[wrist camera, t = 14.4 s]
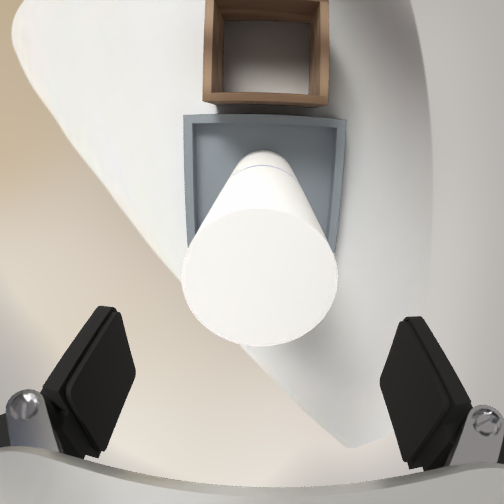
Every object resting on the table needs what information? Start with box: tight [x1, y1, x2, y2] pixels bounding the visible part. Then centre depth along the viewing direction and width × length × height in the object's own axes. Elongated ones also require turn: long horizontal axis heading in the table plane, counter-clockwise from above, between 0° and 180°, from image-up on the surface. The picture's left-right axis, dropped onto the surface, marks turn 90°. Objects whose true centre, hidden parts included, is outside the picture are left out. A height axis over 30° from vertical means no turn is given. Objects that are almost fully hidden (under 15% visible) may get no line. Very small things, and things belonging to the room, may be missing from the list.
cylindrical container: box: [181, 150, 338, 347], centre depth 26 cm, size 7×7×25 cm
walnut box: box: [203, 0, 329, 107], centre depth 29 cm, size 12×12×8 cm
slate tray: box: [183, 114, 346, 253], centre depth 37 cm, size 16×18×2 cm
